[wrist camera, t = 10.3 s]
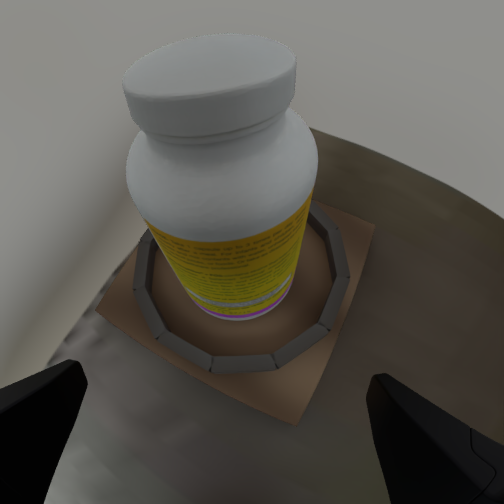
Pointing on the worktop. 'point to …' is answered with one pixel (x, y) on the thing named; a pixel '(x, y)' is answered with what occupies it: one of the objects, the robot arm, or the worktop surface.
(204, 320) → the locating board
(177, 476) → the worktop surface
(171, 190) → the supplement bottle
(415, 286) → the worktop surface
